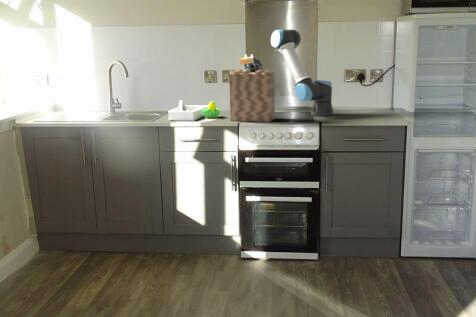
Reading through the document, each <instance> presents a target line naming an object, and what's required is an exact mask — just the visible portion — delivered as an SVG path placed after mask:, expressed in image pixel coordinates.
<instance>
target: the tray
mask: <svg viewBox="0 0 476 317" xmlns="http://www.w3.org/2000/svg"><path fill="white" fill-rule="evenodd" d="M185 105H186V104H185ZM182 107H183V106H182ZM186 108H187V109H188V110H189V111H184V109H183V111H180V109H179V107H176V108H173V109H171V110H168V111H167V112H168V114H167V115H168V121H175V122H176V121H179V122H181V121H182V122H183V121H185V122H194V121H196V120H197V121H198V119H201V118H204V115H203V111H202V110H206V109H208V105H188V104H187V105H186Z"/></svg>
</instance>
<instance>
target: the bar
mask: <svg viewBox="0 0 476 317" xmlns="http://www.w3.org/2000/svg"><path fill="white" fill-rule="evenodd" d="M249 63H253V62H252V60H251V56H247V58H245V57H242V58H239V65H244V64H249Z"/></svg>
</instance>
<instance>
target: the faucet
mask: <svg viewBox="0 0 476 317" xmlns="http://www.w3.org/2000/svg"><path fill="white" fill-rule="evenodd" d="M182 106H183V107H182ZM178 108H179V109H180V111H183V109H184V111H189V110H188V109H187V108H186V103H185V102H184V100H182V99H181V100H179V102H178Z"/></svg>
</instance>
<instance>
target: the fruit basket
mask: <svg viewBox="0 0 476 317" xmlns="http://www.w3.org/2000/svg"><path fill="white" fill-rule="evenodd" d="M202 111H203V115H204V116H203V118H204V119H214V118H215V119H217V118H219V116H220V112H221V110H220V109H219V108H217V105H216V103H215V101H213V100H212V101H210V102H209V103H208V105H207V109H206V110H202Z"/></svg>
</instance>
